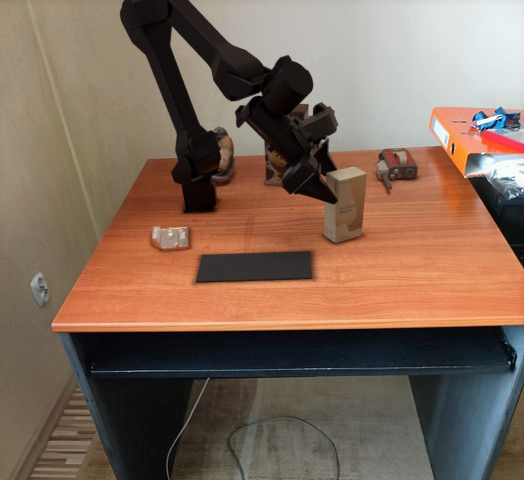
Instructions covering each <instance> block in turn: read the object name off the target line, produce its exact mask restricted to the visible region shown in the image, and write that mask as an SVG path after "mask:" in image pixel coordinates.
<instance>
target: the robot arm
mask: <svg viewBox="0 0 524 480" xmlns="http://www.w3.org/2000/svg"><path fill="white" fill-rule="evenodd" d="M119 18H120V22H121V25H122V27H123V29H124V31H125V32H126V34H127V37H128V38H129V39H130V42H131V43H132V45H134V46H135V47H136V48H137V49H138V50H139V51H140V52H141V53H142V54H143V55H144V56H145V57H146V60H147V63H148V64H149V68H150V69H151V72H152V75H153V77H154V80H155V82H156V85H157V87H158V90H159V93H160V95H161V98H162V100H163V102H164V105H165V108H166V110H167V113H168V115H169V118H170V121H171V122H172V125H173V128H174V131H175V133H176V137H175V146H174V152H175V155H176V158H177V162H176V164H175V165H174V167H173V168H172V169H171V171H170V174H171V177H172V180H173V182H174V183H175V184H178V185H180V186H181V193H182V197H183V204H184V206H183V213H204V212H205V213H206V212H214V210H215V208H216V207H215V206H217V203H218V191H217V184H216V183H217V182H214V181H213V180H212V176H213V175H217V174H218V171H219V165H220V161H221V153H220V150H221V148H220V147H219V145H218V143H217V140H216V136H215V133H214V130H212V129H210V130H207V129H206V128H205V127H204V126H203V125H201V123H200V121H199V118H198V115H197V113H196V110H195V108H194V105H193V101H192V99H191V97H190V94H189V91H188V88H187V86H186V83H185V81H184V78H183V75H182V73H181V70H180V68H179V64H178V62H177V59H176V57H175V54H174V51H173V49H172V45H171V43H172V36H173V35H172V34H173V29H174V30H175V31H176V33H177V34H179V36H180V37H181V38H182V39H183V40H184V41H185V42H186V44H188V46H189V47H190V48H191V49H192V50H194V52H195V53H196V54H197V55H198V56H199V57H200V58H201V60H203V61H204V63H205V64H206V65H207V66H208V67H209V70H210V71H211V78H212V81H213V82H214V84H215V85H216V88H218V90H219V91H220V93H221V94H222V95H223V97H224V98H225V99H226V100H227V101H229V102H231V103H232V102H239V101H242V100H245V99H247V98H250V97H251V98H250V99H249V101H248V102H247V103H246V104H245V105H244V104H239V106H238V107H237V108H236V109H235V110H234V115H235V126H236V128H237V129H241V127H242V126H243V125H244V123H246V124H247V125H248V126H249V127H250V128H251V129H252V130H253V131H254V132H255V133H256V134H257V135H258V136H259V138H261V139H262V140H263V142H264V141H265V142H266V143H267V144H268V145H269V146H268V148H267V150H268V151H269V152H270V153H272V152H273V151H275V152H276V153H277V154H278V155H279V156H280V157H281V158H282V159H283V160H284V161H285V162H286V163H285V165H284V167H286V168H287V169H288V170H287V171H286V172H285V174H284V176H283V179H282V185H281V187H282V189H283V190H284V191H285V192H286V193H288V195H289V196H291V195H293V194H294V195H295V196H297V195H301V196H305V197H308V198H312V199H315V200H318V201H321V202H324V203H325V202H327V203H330V204H333V205H334V204H336V203H337V202H338V199H337V197H336V196H335V194H334V193H333V192H332V190H331V189H330V188H329V186H328V185H327V184H326V180H325V179H324V178H323V177H322V176H324V177H325V178H326V173H328V172H332V171H336V170H339V169H338V167H337V165H336V164H335V162H334V160H333V158H332V156H331V154H330V151H329V150H330V138H329V137H330V136H332V135H334V134H335V133H336V132H338V131H337V130H338V126H339V122H338V120H337V117H336V115H335V113H336V111H335V110H334V109H333V108H332V106H331V105H329V106H327V105H326V104H325V103H324V102H323V101H320V102H318V103H316V104H315V105H313V107H312V115H308V118H307V119H305V120H303V121H301V120H300V119H299V118H298V117H297V116H296V117H295V116H293V118H291V117H290V116H289V114H290V113H291V112H292V111H293V110H294V109H295V108H296V107H297V106H298V105H299V104H302V102H303V101H304V100H305V99H306V98H307V97H308V96H309V95H310V94H311V93H312V92H313V91H314V86H315V85H314V78H313V76H312V74H311V73H310V71H309V69H307V68H305V66H304V65H302V64H300V63H299V62H298V61H295V60H293V59H292V58H291V56H290V55H289V54H285V55H282V56H280V57H279V58H278V59H277V60H276V61H275V63H274V66H273V67H272V68H270V67H267V66H265V65H264V64H263V62H262V61H261V60H260V59H259V58H258V57H256V56H255V55H253V53H251V52H250V51H248V50H247V49H245V48H242V47H240V46H236V45H234V44H232V43H231V42H229V41H228V40H227V39H226V38H225V36H224V35H222V34H221V33H220V31H219V30H218V29H217V28H216V27H215V26H214V25H213V24H212V23H211V21H209V19H207V18H206V17H205V16H204V15H203V14H202V12H200V10H199V9H198V8H197V7H196V6H195V5H194V4H193V3H192V2H191V1H190V0H123V1H122V3H121V8H120V10H119ZM260 93H261V95H258V94H260ZM322 140H323V141H322Z"/></svg>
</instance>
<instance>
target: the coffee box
mask: <svg viewBox="0 0 524 480" xmlns="http://www.w3.org/2000/svg"><path fill="white" fill-rule="evenodd" d="M309 107H310V105H309V103H300V104H299V105H298V106H297V107H296V108H295V109H294V110H293V111H292V112H291V113H290V114H289V116H290V117H291V118H293V116H295V117H296V116H297V117H298V118H299V119H300V120H301V121H303V120H305V119H307V118H308V117H309V110H310V109H309ZM263 142H264V143H263V145H264V165H265V185H271V186H272V185H273V186H274V185H275V186H282V179H283V176H284V174H285V172H286V171H287V170H288V169H287V168H286V167H284V165H285V163H286V162H285V161H284V160H283V159H282V158H281V157H280V156H279V155H278V154H277V153H276V152H275V151H273V152H272V153H270V152H269V151H268V150H267V148H268V146H269V145H268V144H267V143H266V142H265V141H264V140H263Z"/></svg>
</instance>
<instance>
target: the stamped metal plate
mask: <svg viewBox="0 0 524 480" xmlns="http://www.w3.org/2000/svg"><path fill="white" fill-rule="evenodd" d="M189 229H190V228H189V226H183V227H173V226H169V227H167V228H162V226H161V225H155V226H154V225H153V226H152V232H151V241H152V242H151V243H152V245H154V246H155V247H157V248H159V249H160V250H161V251H163V252H165V251H175V250H184V249H189V232H190V231H189Z"/></svg>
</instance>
